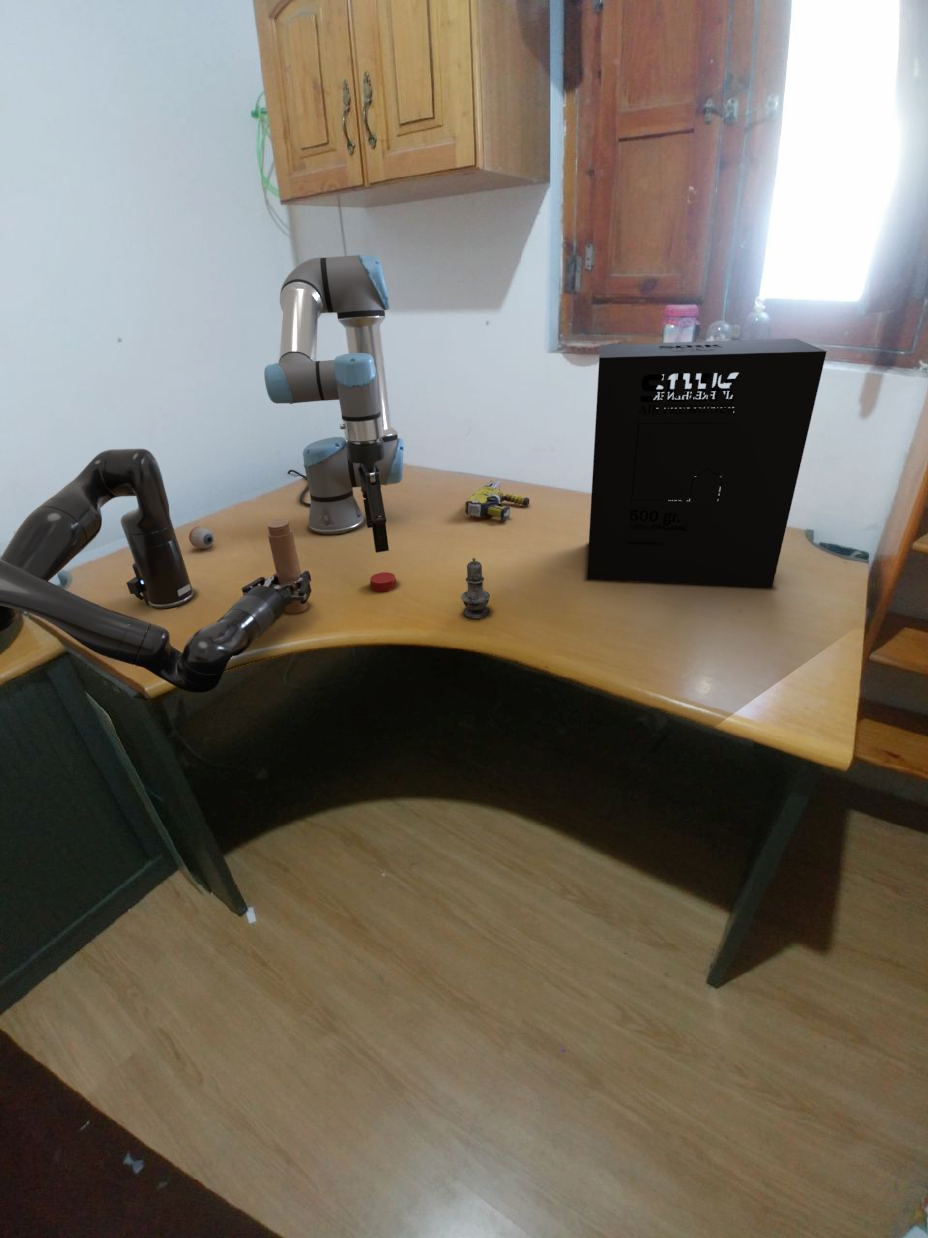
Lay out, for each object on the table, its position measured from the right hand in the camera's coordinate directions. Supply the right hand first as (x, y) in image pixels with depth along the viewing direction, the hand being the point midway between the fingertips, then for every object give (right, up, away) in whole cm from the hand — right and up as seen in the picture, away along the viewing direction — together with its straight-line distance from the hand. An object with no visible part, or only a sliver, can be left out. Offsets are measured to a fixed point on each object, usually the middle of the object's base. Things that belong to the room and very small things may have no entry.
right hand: (377, 538), depth 130 cm
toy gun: (+30, +15, +45) cm, 56 cm away
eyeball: (-50, +1, +29) cm, 58 cm away
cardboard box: (+66, -5, +7) cm, 67 cm away
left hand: (-17, -8, -3) cm, 19 cm away
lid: (+1, -8, +4) cm, 9 cm away
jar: (-17, -15, -2) cm, 23 cm away
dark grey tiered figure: (+21, -16, -8) cm, 28 cm away
